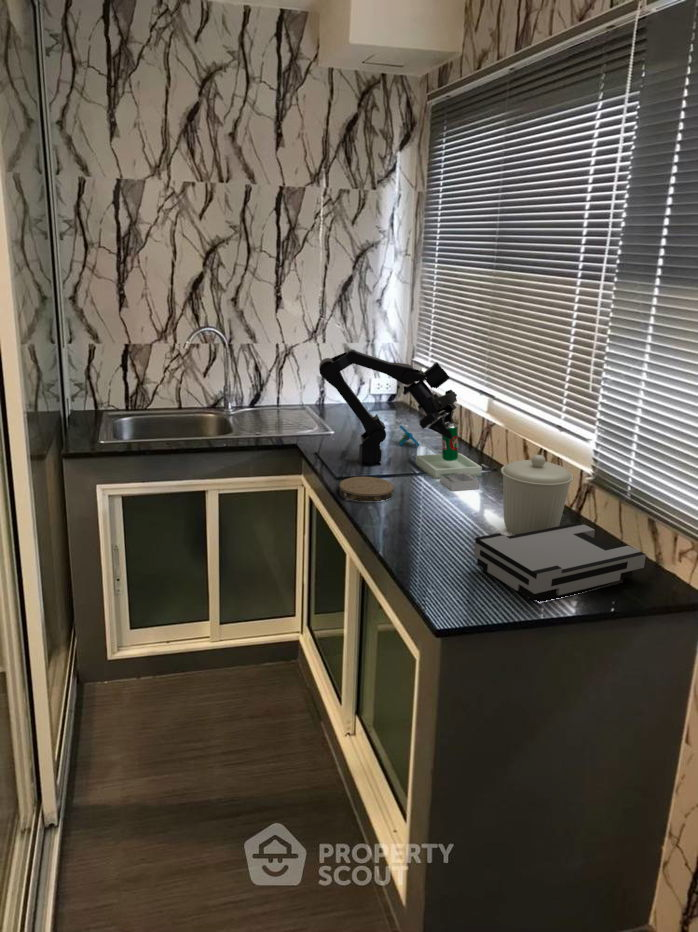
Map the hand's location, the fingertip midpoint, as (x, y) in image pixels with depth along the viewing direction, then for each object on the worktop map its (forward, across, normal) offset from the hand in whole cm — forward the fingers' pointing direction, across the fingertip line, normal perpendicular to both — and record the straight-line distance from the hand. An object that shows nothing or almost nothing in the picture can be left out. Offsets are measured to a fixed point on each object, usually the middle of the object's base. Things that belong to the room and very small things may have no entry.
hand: (454, 436), depth 245 cm
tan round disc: (0, -35, +18) cm, 40 cm away
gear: (-8, +20, +25) cm, 33 cm away
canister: (+34, -39, -18) cm, 54 cm away
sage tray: (+7, 0, +9) cm, 12 cm away
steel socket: (+13, -13, +3) cm, 19 cm away
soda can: (+5, 0, +6) cm, 8 cm away
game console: (+43, -61, -26) cm, 79 cm away
